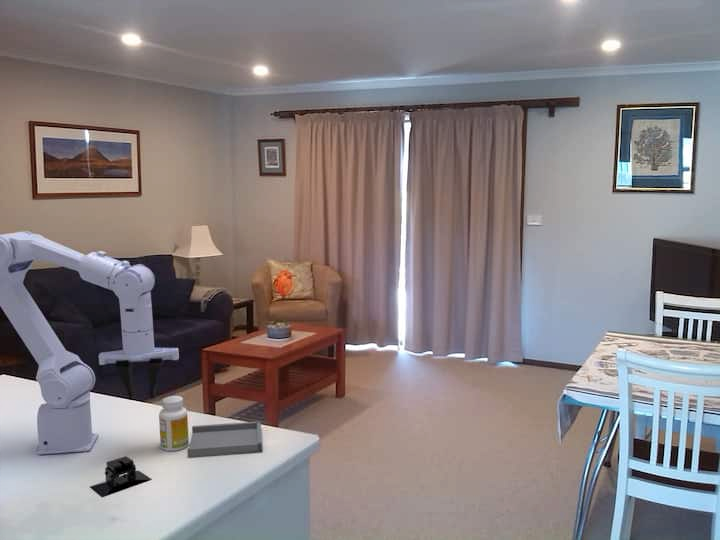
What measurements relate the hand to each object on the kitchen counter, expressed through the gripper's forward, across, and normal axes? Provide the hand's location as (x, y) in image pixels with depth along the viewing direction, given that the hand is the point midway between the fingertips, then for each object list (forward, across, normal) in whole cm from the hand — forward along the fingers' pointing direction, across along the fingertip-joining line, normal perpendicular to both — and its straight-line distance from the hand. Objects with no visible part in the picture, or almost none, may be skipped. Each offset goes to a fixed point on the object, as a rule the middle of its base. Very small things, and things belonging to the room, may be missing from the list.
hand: (142, 397), depth 128 cm
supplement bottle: (+11, +6, 0) cm, 12 cm away
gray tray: (+11, +16, 0) cm, 19 cm away
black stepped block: (+11, -2, -14) cm, 18 cm away
